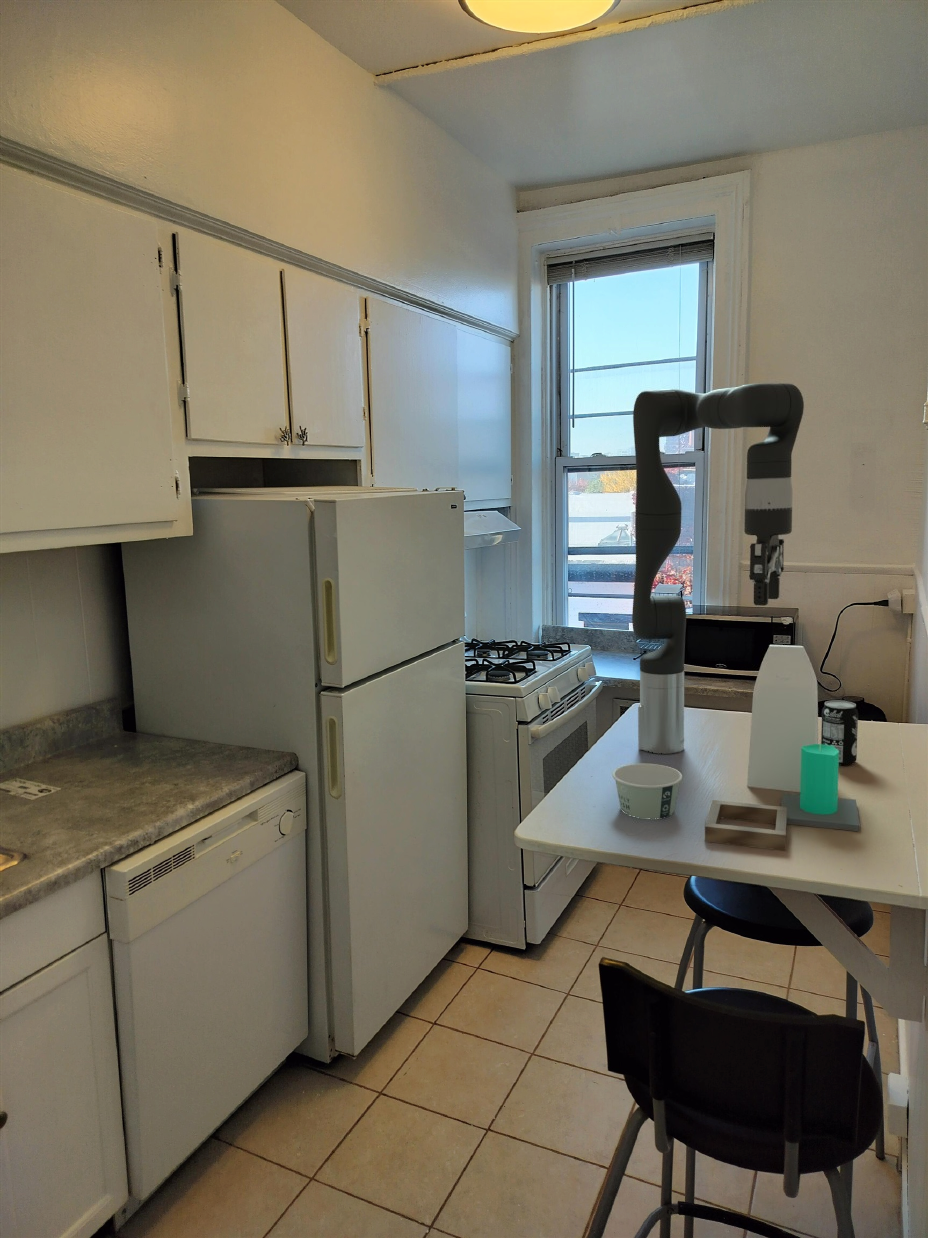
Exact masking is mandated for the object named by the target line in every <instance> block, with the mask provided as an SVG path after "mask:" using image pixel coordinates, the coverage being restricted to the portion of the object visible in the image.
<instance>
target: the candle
mask: <svg viewBox="0 0 928 1238" xmlns="http://www.w3.org/2000/svg"><path fill="white" fill-rule="evenodd" d="M839 767H840V766H839V751H838V750H837V749H836V748H835V747H834V746H831V745H823V744H821V739H819V743H818V744H812V745H807V746H803V747H801V784H800V792H799V794H800V808H801V809H803V810H804V811H806V812H810V813H813V814H822V815H826V814H833V813H835V812H837V801H838V798H839V796H838V794H839V793H838V792H839Z"/></svg>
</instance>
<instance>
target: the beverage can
mask: <svg viewBox="0 0 928 1238" xmlns="http://www.w3.org/2000/svg"><path fill="white" fill-rule="evenodd" d="M856 707H857V704H856V703H855V702H852V701H847V700H841V699H840V700H827V701H825V702H824V706H823V708H822V709H821V739H820V740H821V744H823V745H831V746H834V747H835V748H836V749H837V750H838V751H839V767H848V766H851V765H853V764H854V763H855V762H856V761H857V754H858V751H857V750H858V728H859V726H858V725H859V724H858V723H859V721H858V720H859V711H858V709H857V708H856Z"/></svg>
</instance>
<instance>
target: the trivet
mask: <svg viewBox="0 0 928 1238" xmlns="http://www.w3.org/2000/svg"><path fill="white" fill-rule="evenodd" d="M780 807H787V825H795V826H806V827H812V828H813V827H816V828H824V829H835V830H843V831H854V832H860V831H861V824H860V818H859V812H858V811H859V810H858V806H857V799H855V798H843V797H838V801H837V812H835V813H833V814H826V815H822V814H813V813H810V812H806V811H804V810H803V809H801V808H800V793H788V792H781V806H780Z"/></svg>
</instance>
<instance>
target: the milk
mask: <svg viewBox="0 0 928 1238" xmlns="http://www.w3.org/2000/svg"><path fill="white" fill-rule="evenodd" d="M818 702H819V701H818V680H817V676H816V673H815V670H814V667H813V665H812V662H811V660H810V657H809V655H808V654H807V651H806V648H805V647H804V646H802V645H788V644H787V645H785V644H784V645H783V644H769V645H768V648H767V651H766V652H765V654H764V657H763V659H762V662H761V664H760V667H759V670H758V674H757V677H756V680H755V683H754V687H753V694H752V705H751V706H752V708H751V721H750V722H751V723H750V724H751V725H750V736H749V748H748V749H749V750H748V765H747V767H748V768H747V778H746V779H747V781H746V786H747V787H748V788H757V789H758V788H759V789H768V790H769V789H770V790H776V791H785V792H795V793H800V784H801V747H803V746H807V745H812V744H819V714H818V713H819V707H818V706H819V705H818Z"/></svg>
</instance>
